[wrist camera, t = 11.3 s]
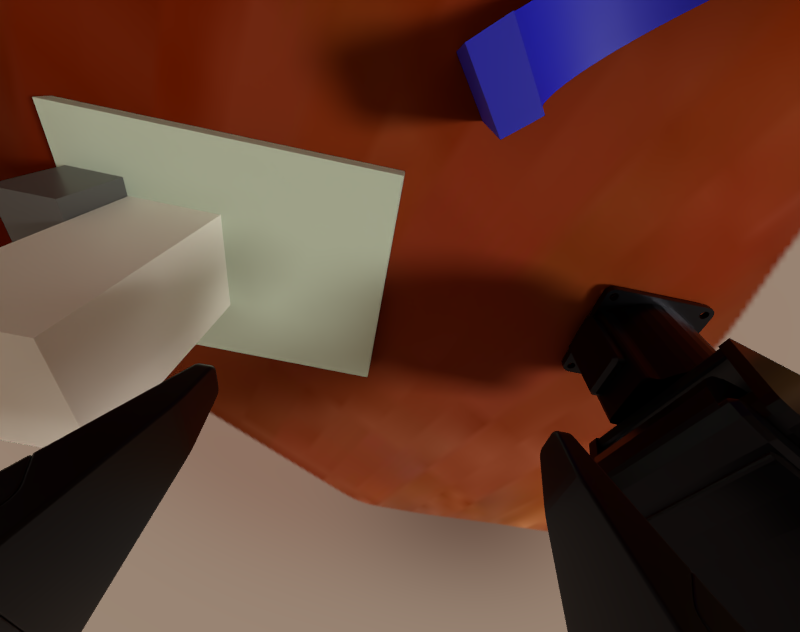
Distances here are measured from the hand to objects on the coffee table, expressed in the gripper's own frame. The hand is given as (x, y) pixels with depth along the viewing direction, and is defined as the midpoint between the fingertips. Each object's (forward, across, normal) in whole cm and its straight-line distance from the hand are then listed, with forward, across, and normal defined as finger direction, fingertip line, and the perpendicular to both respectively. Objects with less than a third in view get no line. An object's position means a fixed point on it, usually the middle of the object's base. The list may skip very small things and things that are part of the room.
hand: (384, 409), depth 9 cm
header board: (+13, +10, +4) cm, 17 cm away
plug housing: (+12, +13, +4) cm, 18 cm away
